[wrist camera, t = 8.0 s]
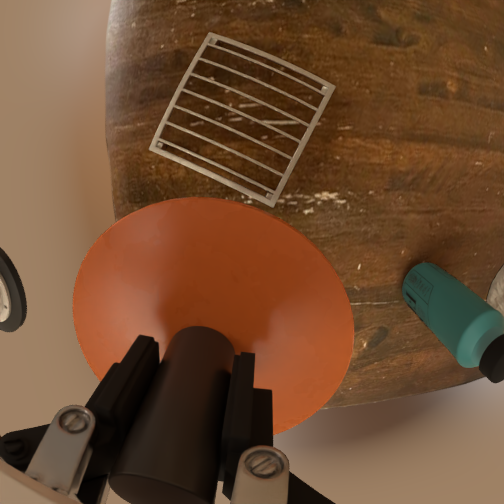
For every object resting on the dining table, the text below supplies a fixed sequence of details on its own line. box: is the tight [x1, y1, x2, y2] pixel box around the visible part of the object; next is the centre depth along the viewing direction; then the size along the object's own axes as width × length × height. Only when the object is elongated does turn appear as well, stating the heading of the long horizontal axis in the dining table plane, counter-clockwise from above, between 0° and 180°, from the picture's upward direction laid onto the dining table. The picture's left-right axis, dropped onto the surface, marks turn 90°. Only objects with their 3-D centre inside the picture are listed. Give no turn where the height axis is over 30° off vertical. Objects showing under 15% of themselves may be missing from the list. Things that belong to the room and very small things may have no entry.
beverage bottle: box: [402, 262, 504, 383], centre depth 26 cm, size 6×7×20 cm
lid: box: [73, 197, 354, 504], centre depth 9 cm, size 13×13×8 cm
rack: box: [149, 32, 336, 207], centre depth 30 cm, size 15×15×2 cm
